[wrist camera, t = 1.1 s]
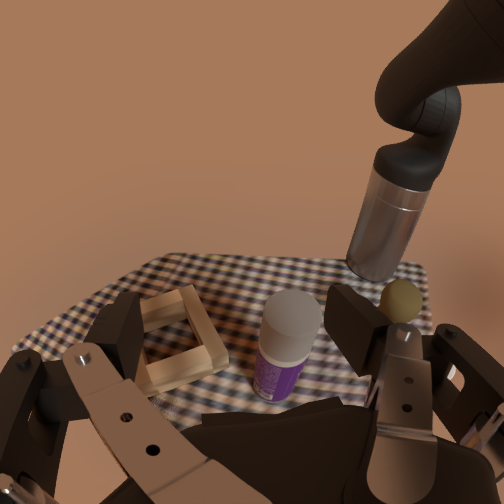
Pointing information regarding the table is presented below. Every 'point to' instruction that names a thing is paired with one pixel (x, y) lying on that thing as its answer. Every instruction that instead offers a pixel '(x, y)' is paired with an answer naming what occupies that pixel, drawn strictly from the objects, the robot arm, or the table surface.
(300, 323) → the container
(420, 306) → the olive pepper mill
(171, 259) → the table surface
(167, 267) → the table surface
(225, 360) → the square holder
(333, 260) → the table surface
